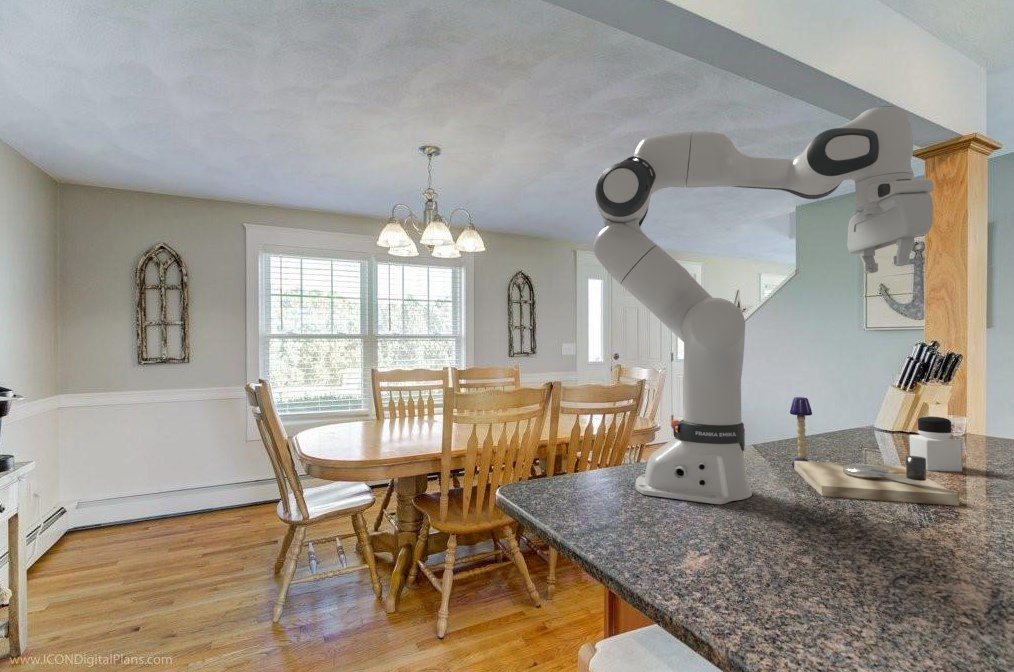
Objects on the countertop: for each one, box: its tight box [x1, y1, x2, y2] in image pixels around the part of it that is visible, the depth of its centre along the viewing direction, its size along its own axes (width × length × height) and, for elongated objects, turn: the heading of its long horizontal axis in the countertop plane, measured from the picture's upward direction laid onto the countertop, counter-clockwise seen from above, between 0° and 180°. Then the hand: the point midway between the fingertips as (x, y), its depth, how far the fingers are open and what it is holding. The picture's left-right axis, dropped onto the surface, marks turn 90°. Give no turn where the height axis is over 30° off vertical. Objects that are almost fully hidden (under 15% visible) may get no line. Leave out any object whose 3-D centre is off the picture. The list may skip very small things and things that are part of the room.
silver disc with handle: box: [843, 455, 927, 484], centre depth 103 cm, size 14×8×5 cm, turn 28°
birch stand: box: [793, 460, 960, 507], centre depth 106 cm, size 22×22×2 cm
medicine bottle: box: [909, 415, 963, 473], centre depth 120 cm, size 7×7×12 cm
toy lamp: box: [789, 396, 813, 467], centre depth 122 cm, size 5×5×17 cm
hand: (885, 269), depth 94 cm, fingers open, 8 cm apart
